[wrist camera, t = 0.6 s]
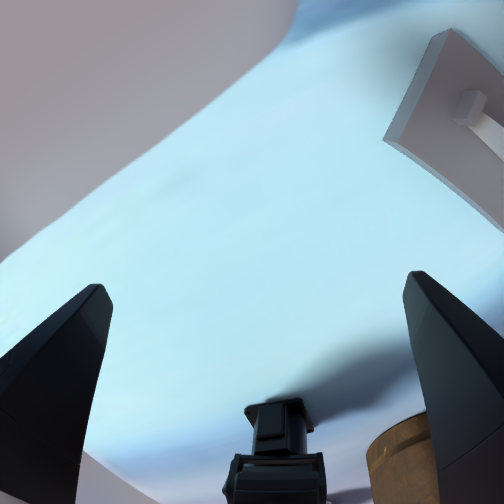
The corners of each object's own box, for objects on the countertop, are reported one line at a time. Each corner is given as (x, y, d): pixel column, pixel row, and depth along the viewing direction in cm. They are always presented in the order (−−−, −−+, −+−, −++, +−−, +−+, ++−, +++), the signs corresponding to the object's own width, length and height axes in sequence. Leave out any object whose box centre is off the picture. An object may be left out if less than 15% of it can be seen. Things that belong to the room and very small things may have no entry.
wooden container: (450, 449, 35) (480, 556, 15) (364, 474, 37) (377, 592, 17) (471, 394, 30) (527, 530, 9) (366, 426, 32) (390, 588, 12)
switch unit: (497, 228, 22) (529, 250, 17) (382, 140, 20) (409, 145, 15) (538, 139, 18) (573, 148, 13) (432, 36, 16) (464, 22, 12)
